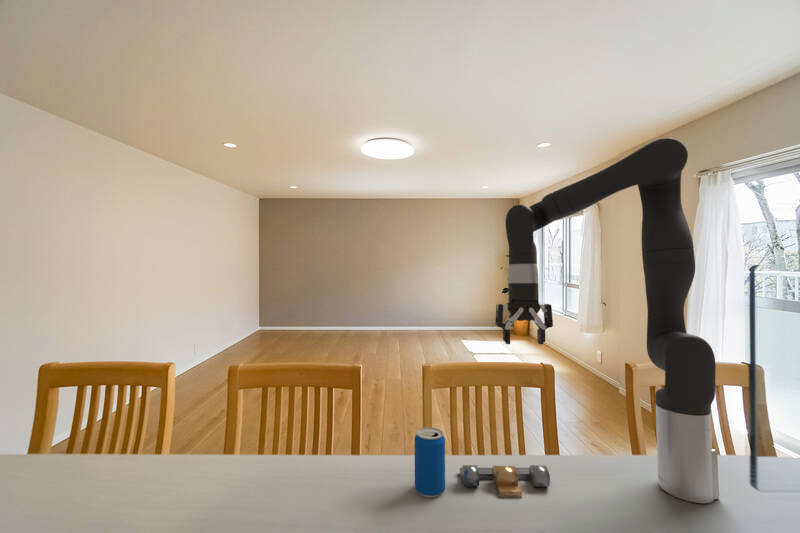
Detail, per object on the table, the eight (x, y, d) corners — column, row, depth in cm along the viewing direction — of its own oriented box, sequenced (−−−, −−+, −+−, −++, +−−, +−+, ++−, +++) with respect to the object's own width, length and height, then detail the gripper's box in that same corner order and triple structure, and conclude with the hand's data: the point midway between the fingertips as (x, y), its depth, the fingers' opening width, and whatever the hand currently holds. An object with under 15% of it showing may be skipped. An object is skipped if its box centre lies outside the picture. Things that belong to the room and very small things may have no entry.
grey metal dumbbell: (537, 473, 82) (537, 455, 82) (550, 490, 75) (549, 471, 75) (459, 472, 82) (459, 455, 82) (465, 490, 75) (465, 471, 75)
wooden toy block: (512, 480, 79) (512, 462, 79) (522, 497, 73) (521, 477, 73) (492, 480, 79) (492, 462, 79) (500, 497, 73) (499, 477, 73)
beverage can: (444, 501, 71) (443, 440, 72) (412, 497, 72) (412, 437, 73) (446, 483, 77) (446, 427, 78) (417, 480, 79) (417, 425, 79)
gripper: (500, 281, 89) (500, 346, 88) (556, 281, 89) (557, 346, 88) (492, 281, 97) (493, 341, 96) (544, 281, 97) (545, 341, 96)
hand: (524, 343), depth 92 cm, fingers open, 8 cm apart
